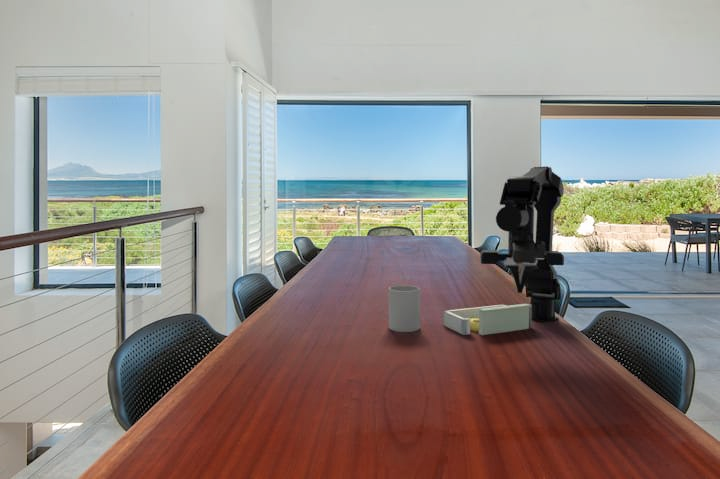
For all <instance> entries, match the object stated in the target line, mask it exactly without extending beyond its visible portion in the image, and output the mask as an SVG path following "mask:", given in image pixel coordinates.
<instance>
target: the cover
mask: <svg viewBox="0 0 720 479" xmlns="http://www.w3.org/2000/svg"><path fill="white" fill-rule="evenodd" d="M529 304H530V303H520V304H510V305H506V306H501V307H492V308H483V309H479V331H478V335H481V336H485V335H493V334H500V333H508V332H515V331H521V330H522V331H523V330H529V329H530V328H529V307H531V305H529Z"/></svg>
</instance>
